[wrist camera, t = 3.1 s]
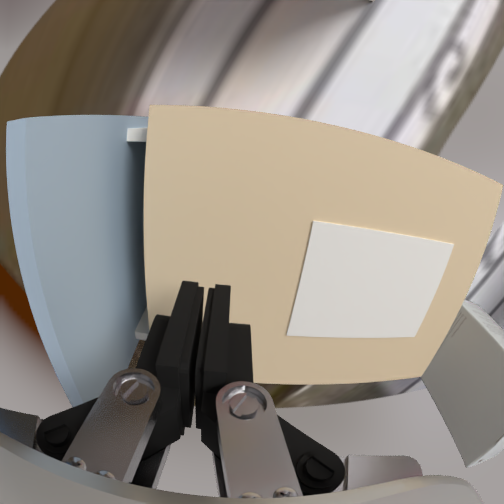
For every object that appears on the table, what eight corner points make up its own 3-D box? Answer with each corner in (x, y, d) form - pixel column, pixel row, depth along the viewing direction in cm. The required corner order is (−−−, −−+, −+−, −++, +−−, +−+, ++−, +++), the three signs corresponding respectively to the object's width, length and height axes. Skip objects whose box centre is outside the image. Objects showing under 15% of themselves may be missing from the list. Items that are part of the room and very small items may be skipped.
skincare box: (438, 359, 26) (493, 458, 12) (404, 355, 25) (462, 473, 12) (479, 299, 23) (558, 393, 9) (449, 287, 22) (543, 399, 8)
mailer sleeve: (438, 162, 17) (504, 185, 11) (388, 320, 23) (421, 377, 16) (185, 112, 16) (148, 104, 9) (176, 305, 22) (154, 372, 15)
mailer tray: (413, 159, 17) (554, 215, 6) (365, 319, 22) (423, 440, 11) (147, 117, 15) (7, 121, 5) (145, 300, 21) (87, 433, 10)
